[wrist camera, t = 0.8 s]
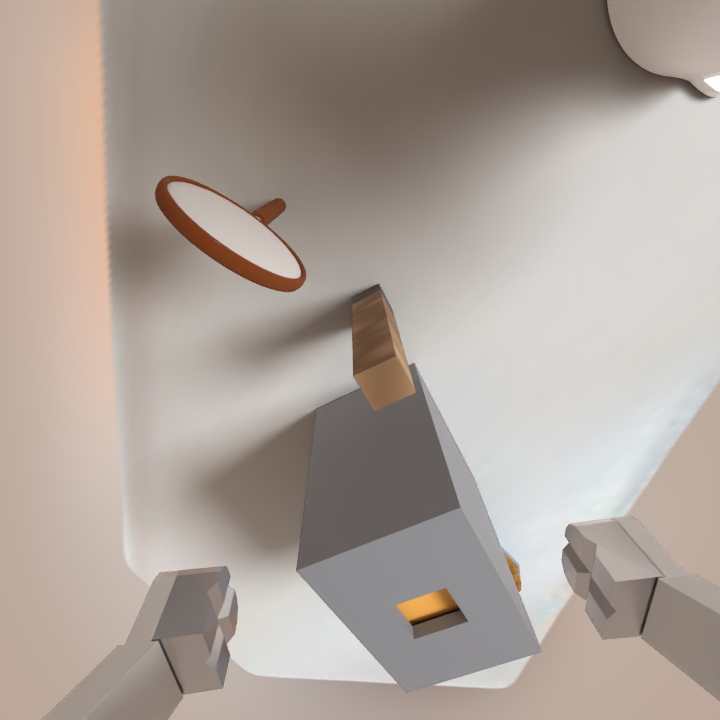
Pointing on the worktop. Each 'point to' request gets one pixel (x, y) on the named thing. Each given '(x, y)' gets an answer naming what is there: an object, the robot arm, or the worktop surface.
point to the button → (428, 606)
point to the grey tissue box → (407, 541)
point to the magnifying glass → (232, 233)
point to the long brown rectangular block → (378, 350)
